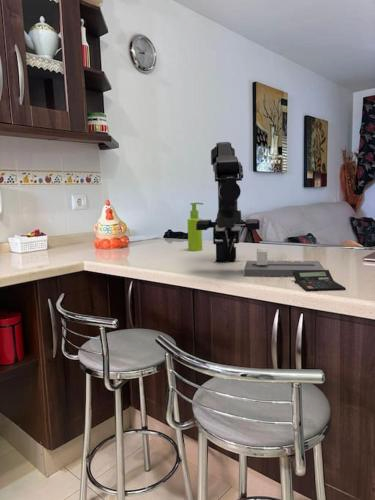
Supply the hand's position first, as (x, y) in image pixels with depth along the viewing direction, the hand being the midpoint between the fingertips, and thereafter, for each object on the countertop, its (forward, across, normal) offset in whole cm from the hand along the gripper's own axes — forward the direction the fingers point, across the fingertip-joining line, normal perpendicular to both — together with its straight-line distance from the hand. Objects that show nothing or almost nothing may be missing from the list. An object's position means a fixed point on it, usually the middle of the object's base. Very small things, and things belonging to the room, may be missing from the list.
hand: (228, 252), depth 116 cm
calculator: (+6, +24, -16) cm, 30 cm away
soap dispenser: (+6, -18, +43) cm, 47 cm away
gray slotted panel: (+6, +16, 0) cm, 17 cm away
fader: (+3, +10, 0) cm, 10 cm away
